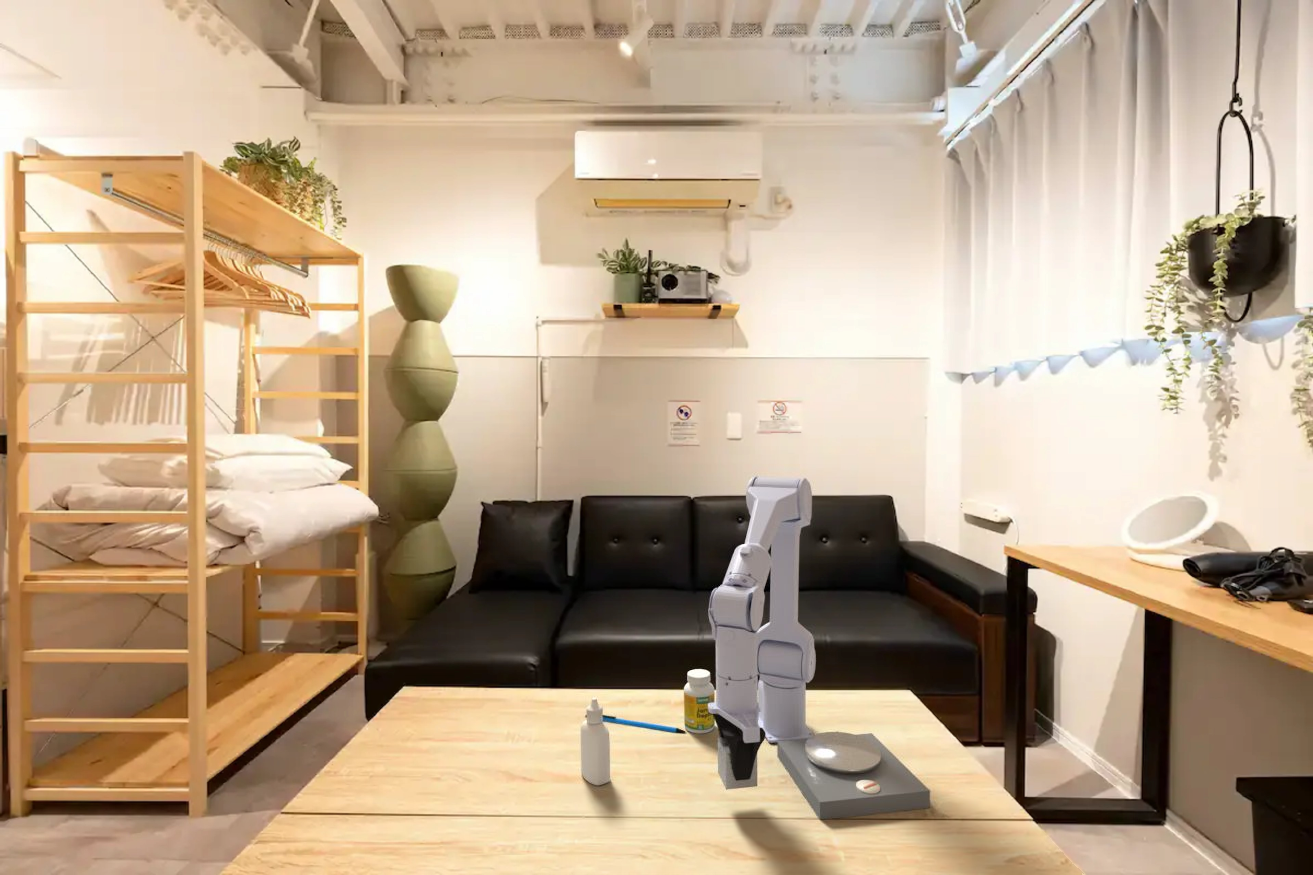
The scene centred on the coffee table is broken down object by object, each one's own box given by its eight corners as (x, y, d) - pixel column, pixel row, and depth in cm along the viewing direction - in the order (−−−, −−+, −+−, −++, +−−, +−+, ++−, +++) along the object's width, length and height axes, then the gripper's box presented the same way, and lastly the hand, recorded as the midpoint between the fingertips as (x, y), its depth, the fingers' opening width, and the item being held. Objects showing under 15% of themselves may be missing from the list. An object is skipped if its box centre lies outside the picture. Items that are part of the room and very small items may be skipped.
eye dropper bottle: (609, 766, 105) (608, 690, 104) (610, 786, 99) (609, 705, 99) (581, 767, 104) (580, 691, 104) (580, 787, 99) (579, 707, 98)
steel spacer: (718, 772, 95) (717, 737, 95) (748, 769, 96) (747, 735, 96) (726, 789, 91) (725, 753, 91) (757, 786, 92) (757, 750, 92)
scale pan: (794, 739, 106) (794, 734, 106) (860, 733, 108) (860, 728, 108) (822, 776, 96) (822, 771, 95) (894, 769, 97) (894, 763, 97)
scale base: (777, 756, 107) (777, 739, 107) (871, 747, 110) (871, 731, 109) (819, 819, 90) (819, 799, 90) (929, 807, 93) (930, 788, 93)
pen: (587, 717, 122) (586, 711, 122) (687, 733, 116) (686, 726, 116) (584, 719, 121) (584, 713, 121) (685, 735, 115) (685, 729, 115)
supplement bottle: (702, 717, 121) (702, 664, 121) (721, 729, 117) (720, 674, 116) (678, 725, 118) (677, 671, 118) (696, 737, 114) (695, 681, 113)
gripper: (697, 655, 100) (697, 745, 100) (721, 696, 85) (722, 801, 86) (743, 652, 101) (743, 741, 101) (775, 692, 86) (775, 795, 87)
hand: (737, 768), depth 94 cm, fingers closed on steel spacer, 4 cm apart
